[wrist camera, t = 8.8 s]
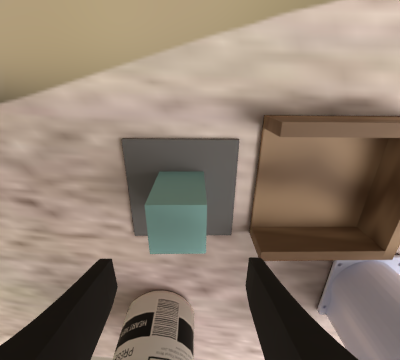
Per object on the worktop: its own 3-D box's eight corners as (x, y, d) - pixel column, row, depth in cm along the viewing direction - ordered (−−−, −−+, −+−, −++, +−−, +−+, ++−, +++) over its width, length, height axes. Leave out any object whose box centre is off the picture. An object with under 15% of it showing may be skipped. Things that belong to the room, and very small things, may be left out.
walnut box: (360, 232, 23) (392, 259, 19) (249, 232, 22) (260, 260, 19) (404, 116, 18) (458, 123, 14) (264, 115, 18) (282, 122, 14)
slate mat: (230, 232, 22) (231, 235, 22) (135, 233, 22) (134, 235, 22) (238, 138, 18) (239, 139, 18) (122, 138, 18) (121, 139, 18)
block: (203, 209, 21) (205, 253, 15) (162, 209, 20) (149, 253, 15) (203, 171, 19) (207, 205, 13) (159, 171, 19) (144, 205, 13)
